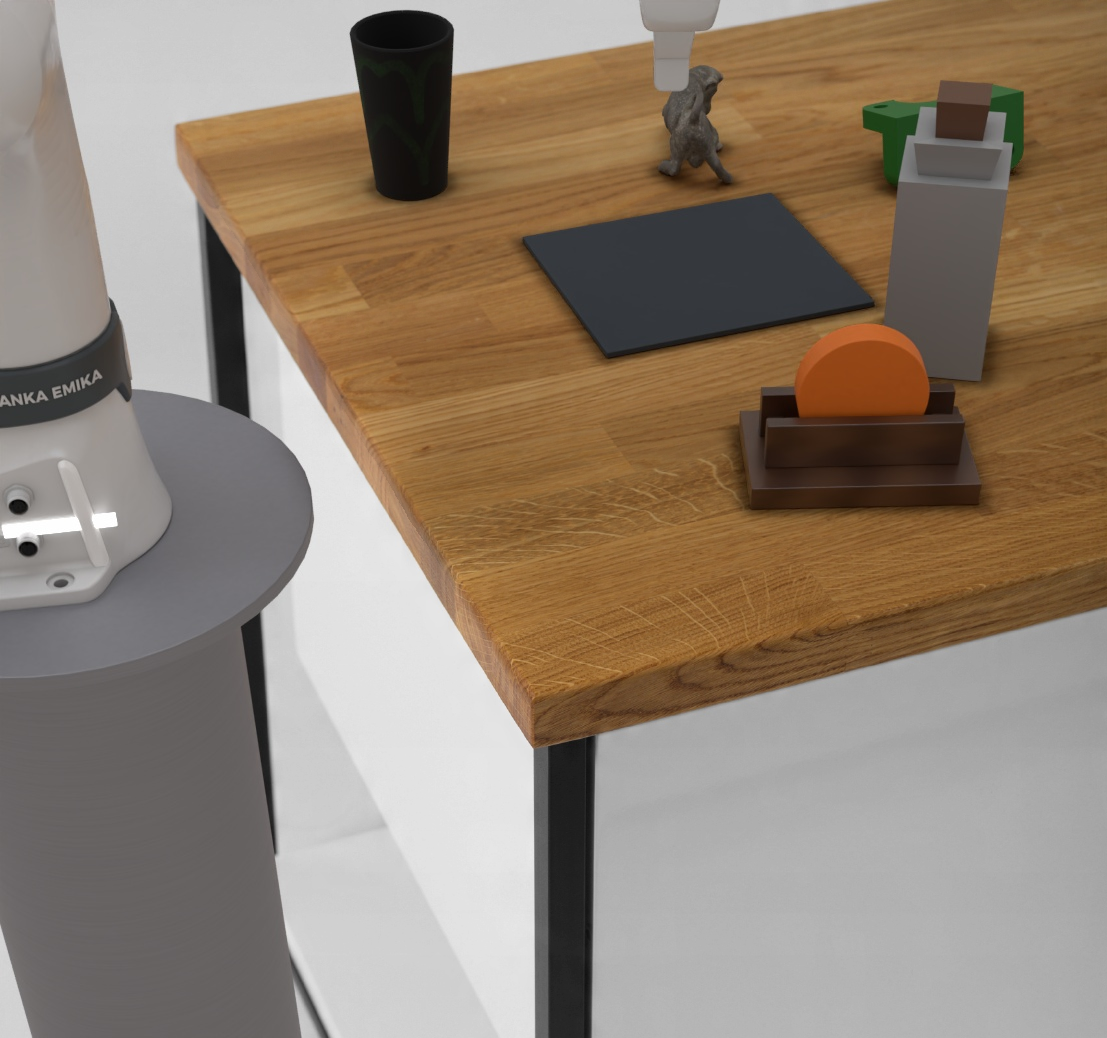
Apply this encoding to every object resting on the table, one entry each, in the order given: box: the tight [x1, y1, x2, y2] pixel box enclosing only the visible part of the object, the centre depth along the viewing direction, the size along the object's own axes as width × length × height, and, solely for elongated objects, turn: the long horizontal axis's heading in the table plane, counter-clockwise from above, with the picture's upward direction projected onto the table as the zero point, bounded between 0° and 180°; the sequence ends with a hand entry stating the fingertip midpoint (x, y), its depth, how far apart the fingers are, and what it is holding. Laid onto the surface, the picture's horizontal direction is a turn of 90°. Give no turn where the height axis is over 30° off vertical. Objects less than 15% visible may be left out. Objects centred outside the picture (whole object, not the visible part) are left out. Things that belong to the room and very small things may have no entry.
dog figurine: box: [657, 64, 734, 184], centre depth 159 cm, size 12×6×7 cm, turn 178°
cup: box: [348, 9, 455, 201], centre depth 155 cm, size 8×8×12 cm
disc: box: [794, 323, 930, 418], centre depth 126 cm, size 8×2×8 cm, turn 91°
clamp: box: [861, 82, 1025, 188], centre depth 158 cm, size 12×6×9 cm, turn 107°
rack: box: [738, 382, 982, 510], centre depth 128 cm, size 14×9×4 cm, turn 91°
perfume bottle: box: [882, 79, 1013, 382], centre depth 134 cm, size 7×7×18 cm
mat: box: [521, 192, 876, 359], centre depth 148 cm, size 20×18×1 cm
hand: (665, 49), depth 112 cm, fingers open, 8 cm apart
